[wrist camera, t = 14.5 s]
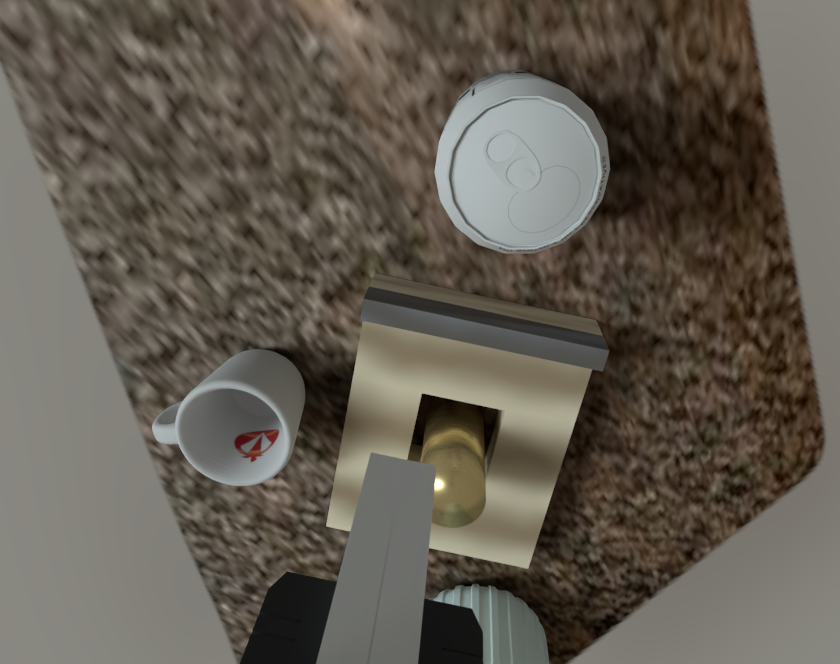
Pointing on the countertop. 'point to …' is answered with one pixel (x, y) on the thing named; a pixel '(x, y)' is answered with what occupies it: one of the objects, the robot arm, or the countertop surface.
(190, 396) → the cup
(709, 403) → the countertop surface
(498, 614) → the vase
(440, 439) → the brass cylinder
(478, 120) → the supplement can
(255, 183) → the countertop surface
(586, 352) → the jig
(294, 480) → the countertop surface
